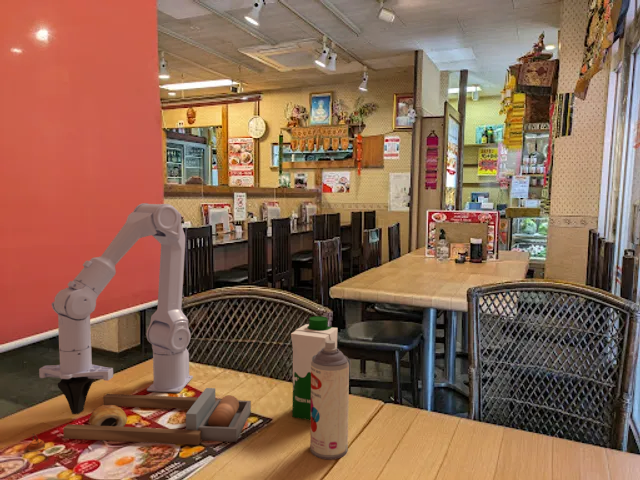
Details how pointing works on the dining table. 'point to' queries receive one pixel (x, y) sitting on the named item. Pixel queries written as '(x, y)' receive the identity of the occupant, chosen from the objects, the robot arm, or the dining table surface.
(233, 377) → the dining table surface
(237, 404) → the roller
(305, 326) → the milk carton
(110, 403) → the rail
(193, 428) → the block
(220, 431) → the cradle
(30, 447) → the round teapot
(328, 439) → the aerosol can
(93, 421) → the pastry
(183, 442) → the rail
